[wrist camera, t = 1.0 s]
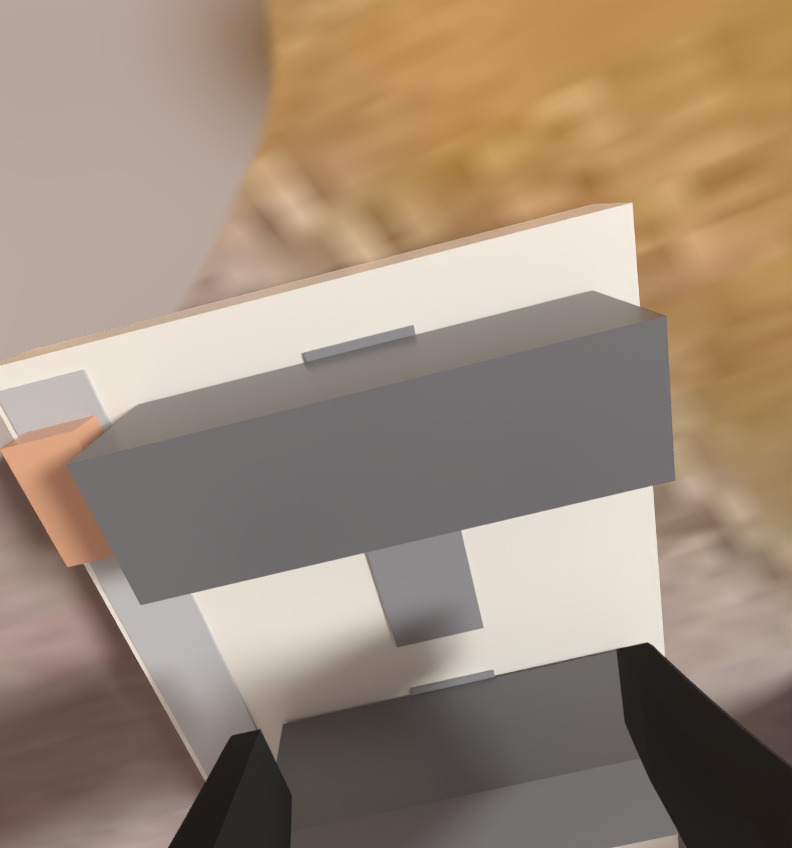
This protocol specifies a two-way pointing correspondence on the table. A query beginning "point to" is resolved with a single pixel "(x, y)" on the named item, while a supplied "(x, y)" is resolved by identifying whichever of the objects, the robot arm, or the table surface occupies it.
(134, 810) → the table surface
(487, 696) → the slider middle
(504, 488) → the slider
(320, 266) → the table surface
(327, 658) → the switch panel
